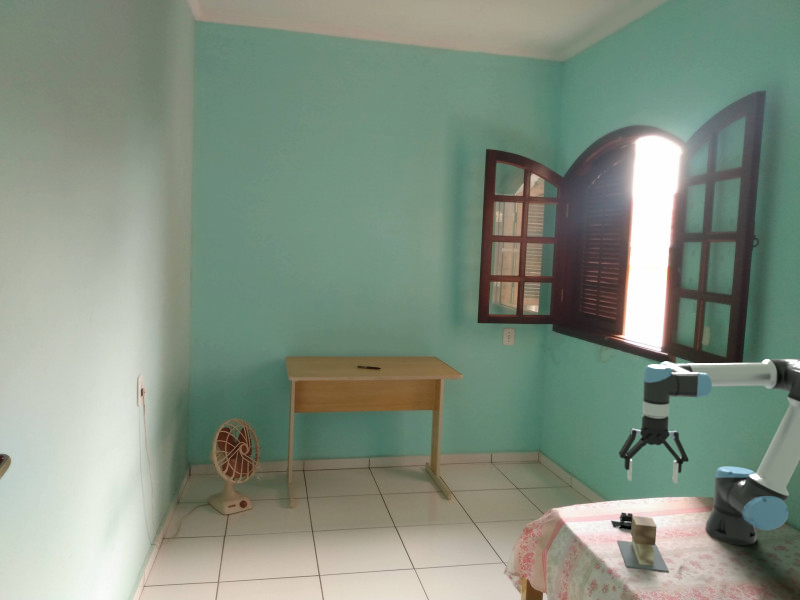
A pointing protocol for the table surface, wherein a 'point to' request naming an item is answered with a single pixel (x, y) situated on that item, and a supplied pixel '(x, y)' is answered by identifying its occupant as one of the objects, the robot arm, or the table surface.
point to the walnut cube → (643, 530)
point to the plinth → (643, 553)
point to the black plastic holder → (623, 522)
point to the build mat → (633, 562)
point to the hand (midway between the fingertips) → (651, 480)
